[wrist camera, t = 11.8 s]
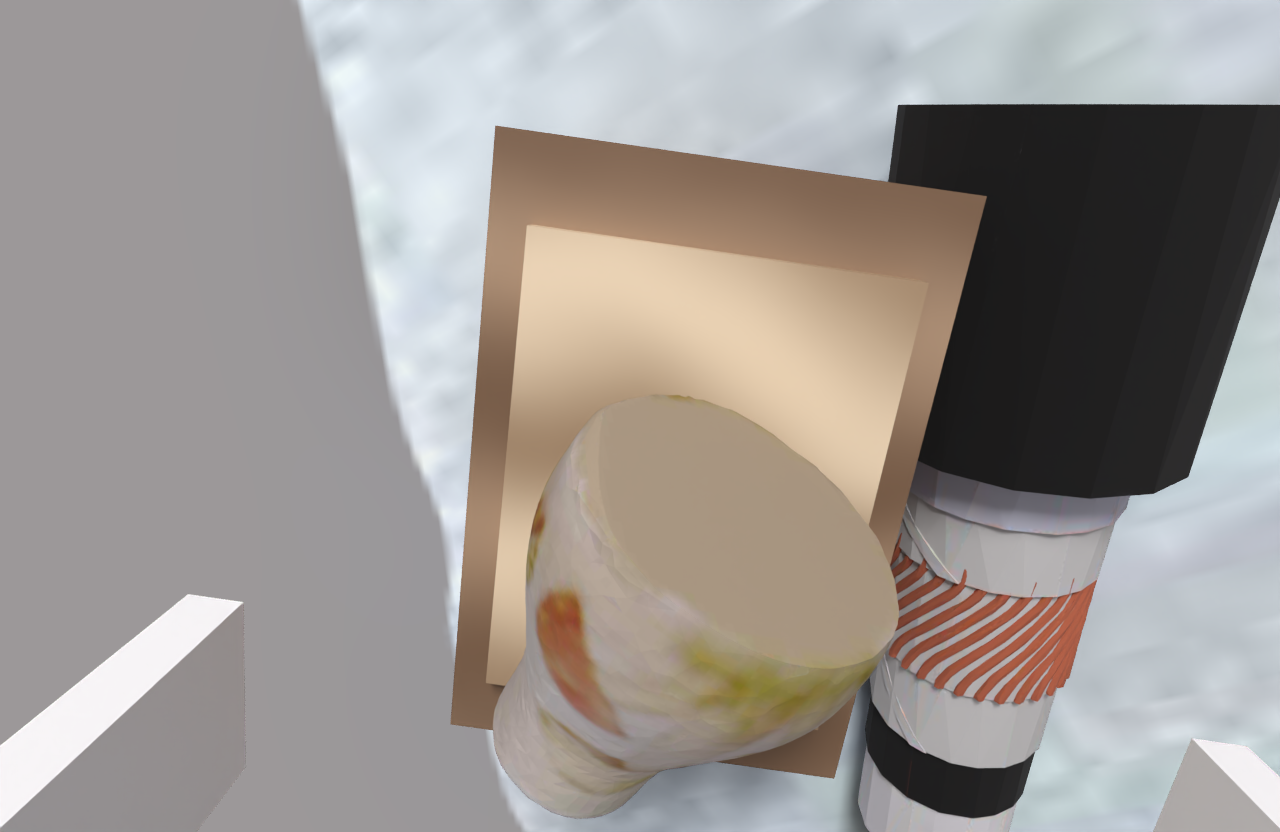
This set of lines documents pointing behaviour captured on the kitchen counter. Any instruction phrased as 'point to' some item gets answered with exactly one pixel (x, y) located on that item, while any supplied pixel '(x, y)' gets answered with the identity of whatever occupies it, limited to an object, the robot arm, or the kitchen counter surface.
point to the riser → (695, 344)
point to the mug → (684, 604)
